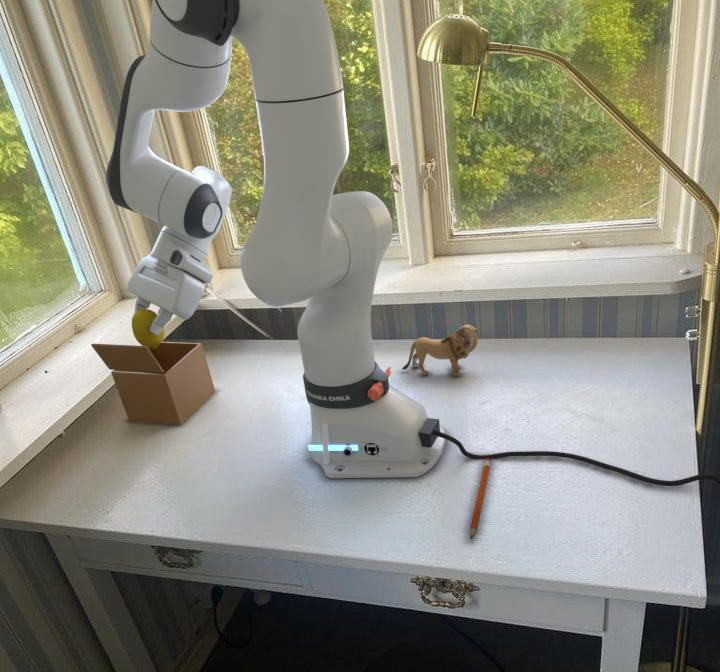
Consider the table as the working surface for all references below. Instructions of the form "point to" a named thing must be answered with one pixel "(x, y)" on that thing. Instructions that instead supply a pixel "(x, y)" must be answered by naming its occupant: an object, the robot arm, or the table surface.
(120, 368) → the flap
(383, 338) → the table surface
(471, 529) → the pencil
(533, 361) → the table surface
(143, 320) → the lemon
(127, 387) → the carton
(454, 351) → the lion figurine
